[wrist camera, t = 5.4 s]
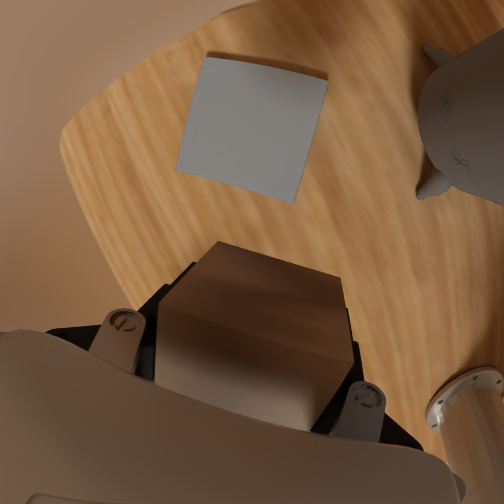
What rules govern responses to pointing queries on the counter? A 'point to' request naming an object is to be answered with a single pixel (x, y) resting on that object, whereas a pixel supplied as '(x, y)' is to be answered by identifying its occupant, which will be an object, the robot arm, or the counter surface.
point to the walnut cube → (255, 337)
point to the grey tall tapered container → (465, 120)
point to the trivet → (251, 126)
